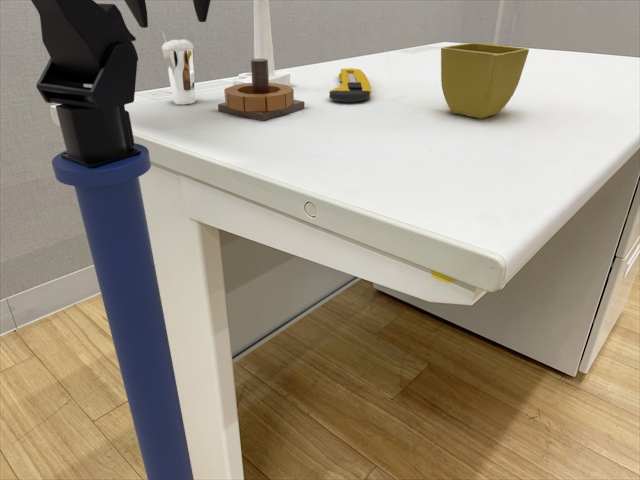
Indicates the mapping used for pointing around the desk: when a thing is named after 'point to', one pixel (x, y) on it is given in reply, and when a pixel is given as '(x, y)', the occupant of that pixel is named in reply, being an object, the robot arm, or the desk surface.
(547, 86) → the desk surface
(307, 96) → the desk surface
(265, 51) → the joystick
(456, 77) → the flower pot
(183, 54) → the milkshake
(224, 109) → the peg
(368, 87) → the utility knife
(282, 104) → the brick ring
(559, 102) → the desk surface
